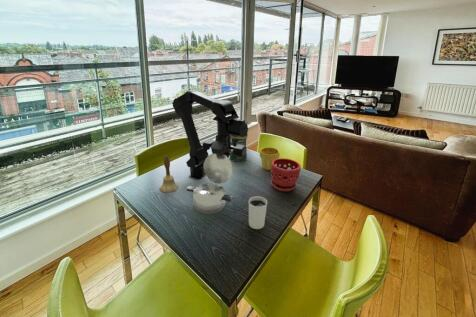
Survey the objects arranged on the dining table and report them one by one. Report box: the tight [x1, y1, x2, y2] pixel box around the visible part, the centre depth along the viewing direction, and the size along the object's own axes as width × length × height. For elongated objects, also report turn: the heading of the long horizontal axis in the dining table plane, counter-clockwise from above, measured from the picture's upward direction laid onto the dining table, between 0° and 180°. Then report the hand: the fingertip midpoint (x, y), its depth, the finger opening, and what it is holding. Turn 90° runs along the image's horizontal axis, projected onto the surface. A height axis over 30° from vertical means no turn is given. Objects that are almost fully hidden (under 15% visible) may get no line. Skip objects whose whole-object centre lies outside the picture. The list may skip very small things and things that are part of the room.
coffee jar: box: [229, 133, 249, 162], centre depth 143 cm, size 10×8×19 cm
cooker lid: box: [204, 153, 234, 185], centre depth 108 cm, size 13×13×2 cm
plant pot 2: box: [270, 157, 302, 192], centre depth 117 cm, size 13×13×12 cm
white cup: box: [248, 195, 268, 230], centre depth 93 cm, size 7×7×10 cm
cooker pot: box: [185, 183, 234, 215], centre depth 105 cm, size 20×14×6 cm
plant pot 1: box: [259, 146, 281, 171], centre depth 135 cm, size 10×10×10 cm
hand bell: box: [159, 155, 179, 193], centre depth 114 cm, size 8×8×16 cm
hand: (224, 165), depth 113 cm, fingers closed
